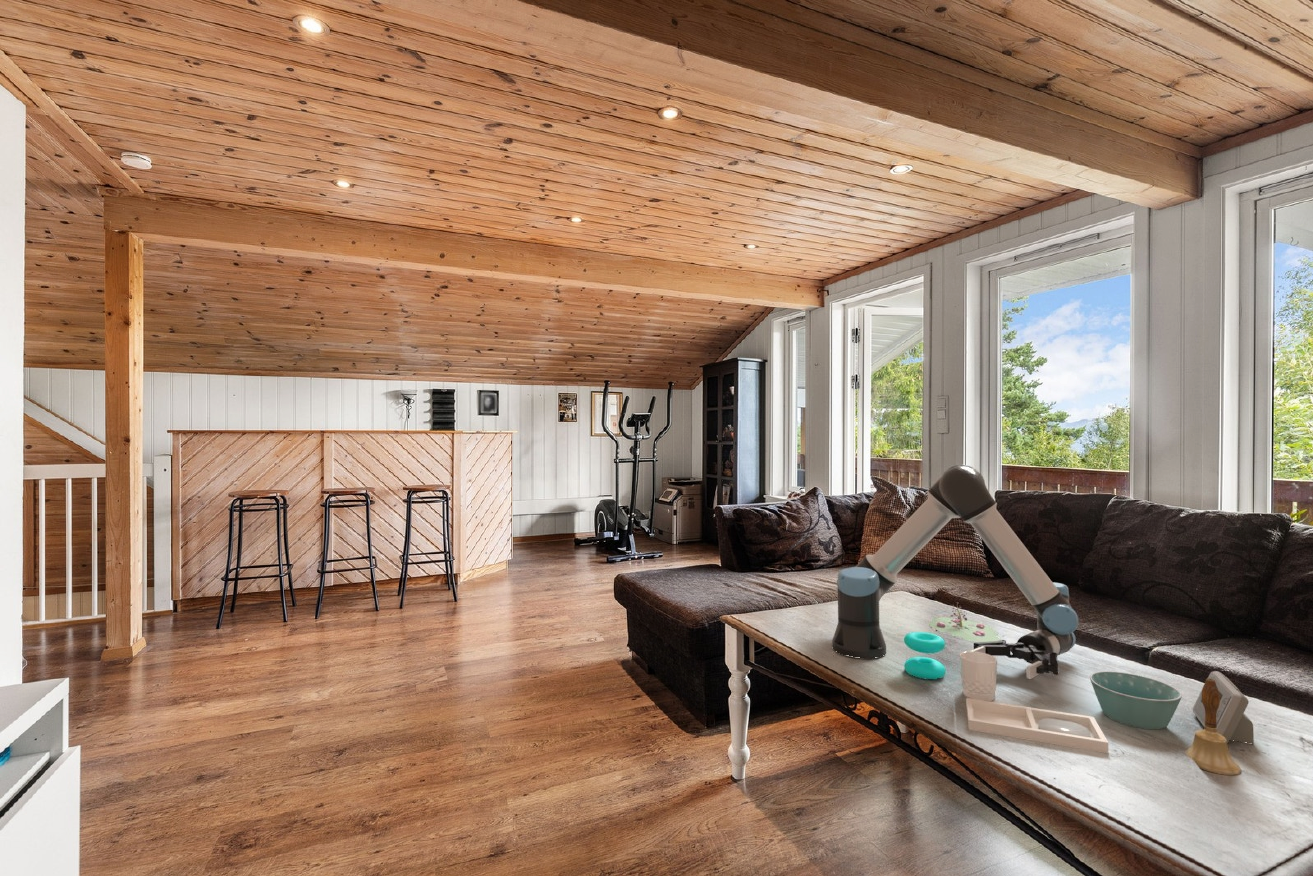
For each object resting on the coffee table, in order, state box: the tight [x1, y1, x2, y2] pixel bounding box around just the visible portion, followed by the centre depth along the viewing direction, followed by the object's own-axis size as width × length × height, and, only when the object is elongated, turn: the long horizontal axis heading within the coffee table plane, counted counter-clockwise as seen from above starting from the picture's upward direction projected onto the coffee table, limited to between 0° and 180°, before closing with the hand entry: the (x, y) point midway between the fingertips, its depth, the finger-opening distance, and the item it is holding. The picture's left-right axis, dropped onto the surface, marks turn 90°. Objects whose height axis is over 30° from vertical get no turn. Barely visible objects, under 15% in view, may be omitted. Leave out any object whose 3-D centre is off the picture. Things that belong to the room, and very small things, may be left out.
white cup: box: [959, 651, 998, 702], centre depth 144 cm, size 8×8×10 cm
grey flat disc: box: [1038, 718, 1091, 738], centre depth 125 cm, size 9×9×1 cm
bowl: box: [1089, 671, 1183, 730], centre depth 131 cm, size 16×16×8 cm
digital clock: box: [1192, 670, 1255, 745], centre depth 127 cm, size 16×9×11 cm, turn 139°
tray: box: [965, 697, 1110, 754], centre depth 127 cm, size 24×12×3 cm, turn 65°
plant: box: [929, 602, 1000, 642], centre depth 195 cm, size 25×21×9 cm
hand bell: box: [1185, 678, 1242, 776], centre depth 114 cm, size 8×8×16 cm
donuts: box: [903, 631, 947, 680], centre depth 160 cm, size 10×10×10 cm
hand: (998, 664), depth 150 cm, fingers open, 13 cm apart
